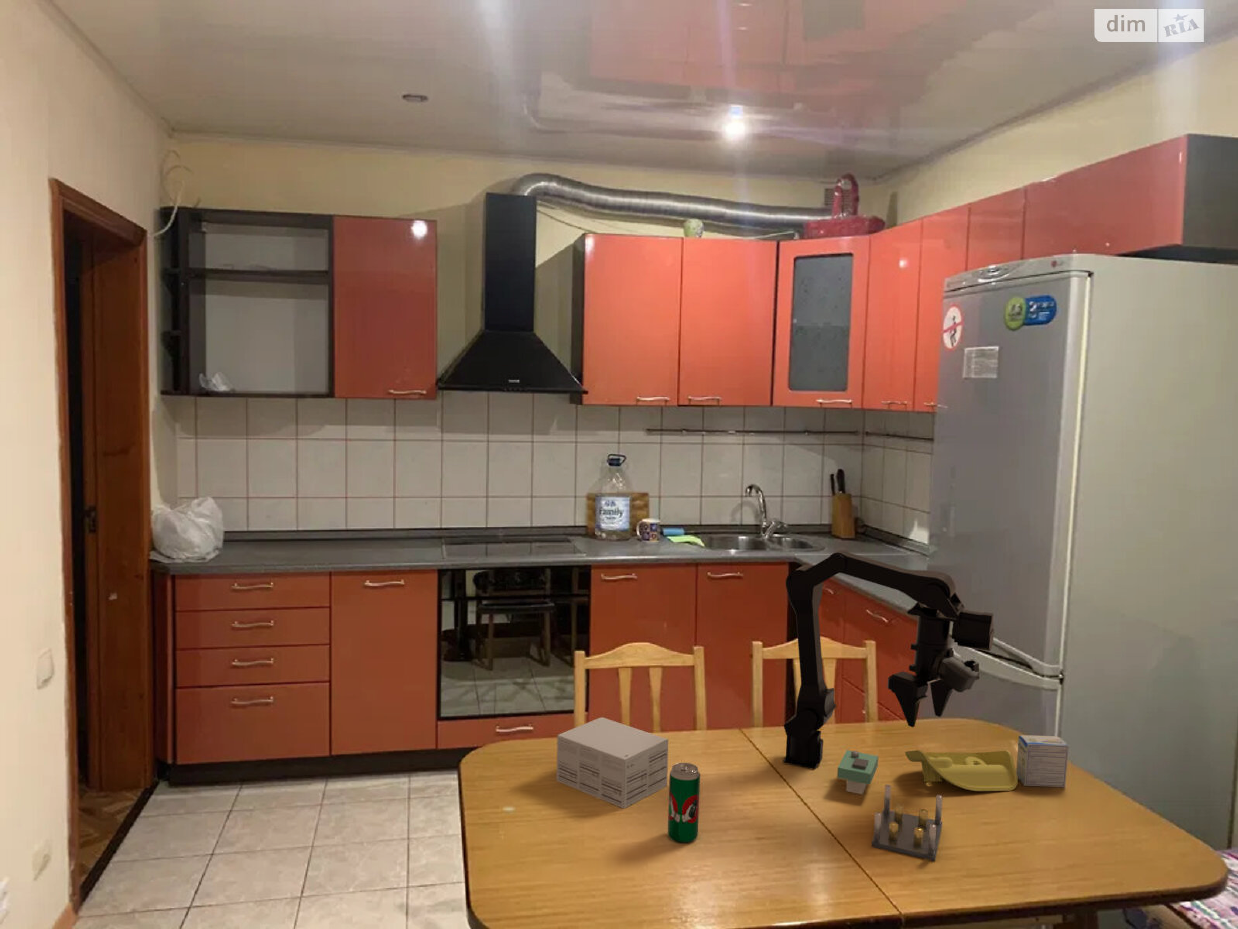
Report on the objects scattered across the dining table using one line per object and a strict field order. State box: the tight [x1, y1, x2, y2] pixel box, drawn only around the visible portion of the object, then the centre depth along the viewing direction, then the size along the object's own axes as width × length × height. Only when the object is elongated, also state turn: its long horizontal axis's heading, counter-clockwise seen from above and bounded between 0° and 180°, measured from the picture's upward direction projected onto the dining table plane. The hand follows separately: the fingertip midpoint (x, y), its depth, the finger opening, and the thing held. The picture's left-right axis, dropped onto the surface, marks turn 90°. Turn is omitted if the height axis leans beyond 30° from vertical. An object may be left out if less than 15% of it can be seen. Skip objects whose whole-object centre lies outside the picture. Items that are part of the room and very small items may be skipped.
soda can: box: [667, 762, 701, 844], centre depth 151 cm, size 5×5×12 cm
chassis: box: [871, 784, 943, 862], centre depth 154 cm, size 10×13×6 cm
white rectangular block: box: [845, 780, 868, 795], centre depth 172 cm, size 3×5×3 cm, turn 156°
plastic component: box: [904, 749, 1019, 792], centre depth 176 cm, size 20×7×10 cm
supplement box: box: [555, 716, 669, 809], centre depth 170 cm, size 17×13×9 cm
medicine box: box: [1015, 734, 1070, 788], centre depth 176 cm, size 8×4×9 cm, turn 88°
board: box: [836, 749, 879, 785], centre depth 172 cm, size 6×9×3 cm, turn 156°
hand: (925, 721), depth 171 cm, fingers open, 9 cm apart
